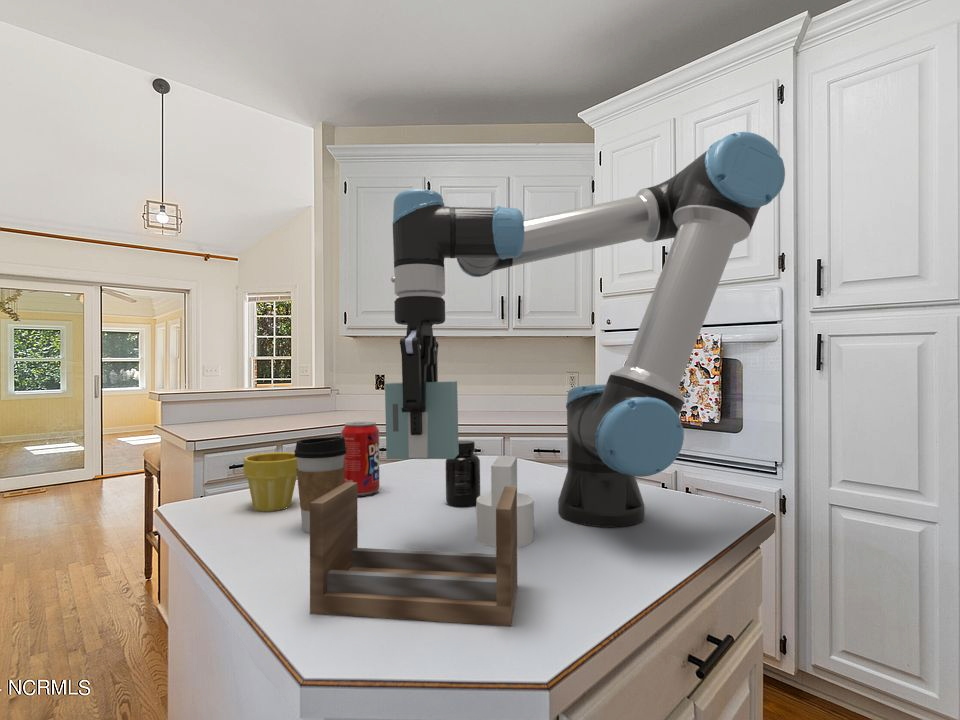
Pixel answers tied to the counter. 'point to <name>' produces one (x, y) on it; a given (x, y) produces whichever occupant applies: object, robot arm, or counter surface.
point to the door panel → (440, 421)
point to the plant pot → (271, 479)
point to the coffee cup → (318, 470)
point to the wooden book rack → (409, 570)
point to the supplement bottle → (463, 476)
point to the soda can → (362, 456)
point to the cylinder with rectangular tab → (487, 503)
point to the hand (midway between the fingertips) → (422, 454)
